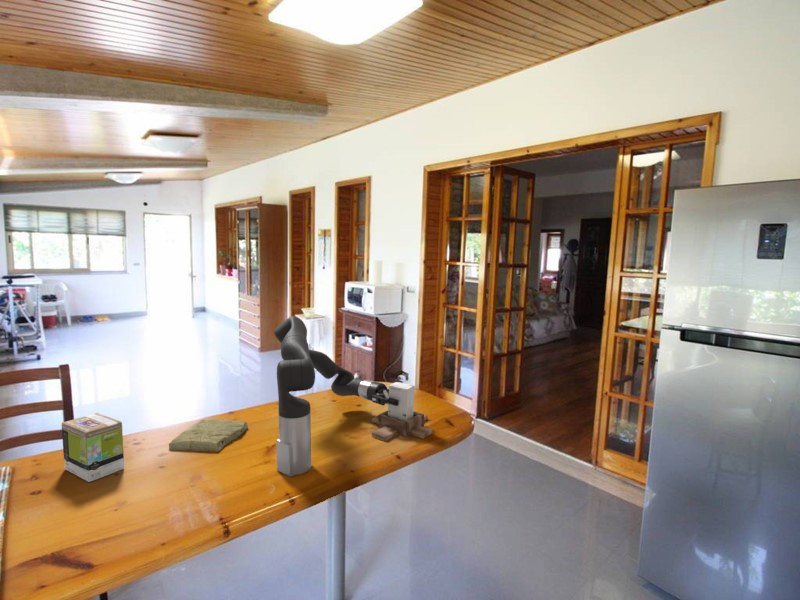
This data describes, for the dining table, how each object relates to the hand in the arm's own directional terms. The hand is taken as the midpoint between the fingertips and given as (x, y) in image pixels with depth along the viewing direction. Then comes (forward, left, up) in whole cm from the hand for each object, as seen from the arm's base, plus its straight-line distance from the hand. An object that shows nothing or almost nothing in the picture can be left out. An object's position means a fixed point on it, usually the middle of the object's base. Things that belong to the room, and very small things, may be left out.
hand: (405, 399), depth 158 cm
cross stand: (0, +2, -11) cm, 11 cm away
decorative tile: (-49, +48, -12) cm, 69 cm away
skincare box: (0, +2, -10) cm, 10 cm away
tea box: (-82, +54, -11) cm, 99 cm away
